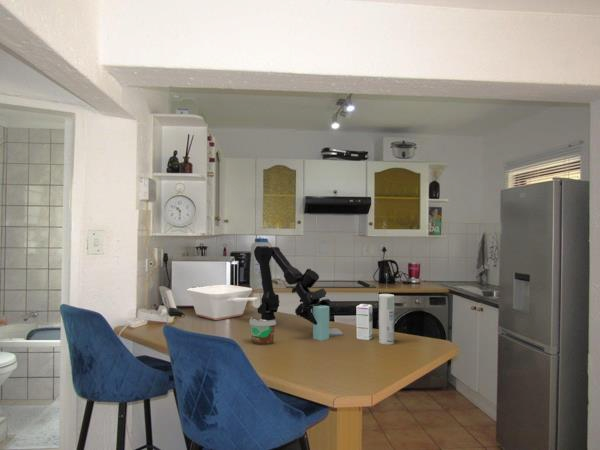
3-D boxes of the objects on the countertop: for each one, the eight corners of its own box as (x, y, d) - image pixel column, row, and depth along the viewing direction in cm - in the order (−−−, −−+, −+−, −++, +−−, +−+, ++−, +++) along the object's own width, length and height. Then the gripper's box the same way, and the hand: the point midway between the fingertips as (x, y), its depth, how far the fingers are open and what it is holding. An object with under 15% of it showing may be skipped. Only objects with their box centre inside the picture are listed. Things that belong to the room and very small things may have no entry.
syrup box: (369, 340, 178) (369, 306, 178) (356, 338, 180) (356, 305, 181) (372, 337, 183) (372, 304, 183) (359, 335, 186) (359, 303, 186)
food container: (243, 343, 172) (243, 319, 173) (251, 339, 178) (251, 316, 178) (268, 347, 167) (268, 322, 167) (276, 343, 172) (276, 319, 172)
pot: (225, 309, 246) (225, 284, 246) (276, 320, 216) (277, 292, 216) (182, 316, 225) (182, 288, 225) (232, 330, 195) (233, 298, 195)
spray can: (390, 345, 170) (390, 296, 171) (375, 342, 174) (376, 295, 175) (396, 342, 176) (396, 294, 176) (382, 339, 180) (382, 293, 180)
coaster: (321, 336, 185) (321, 334, 185) (316, 330, 195) (316, 329, 195) (343, 335, 186) (343, 333, 186) (337, 330, 196) (337, 328, 196)
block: (313, 338, 181) (313, 306, 181) (320, 336, 184) (320, 304, 184) (321, 340, 177) (321, 307, 177) (329, 338, 181) (329, 306, 181)
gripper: (300, 284, 177) (319, 314, 169) (328, 281, 190) (347, 308, 183) (287, 301, 182) (305, 330, 174) (315, 296, 196) (333, 323, 188)
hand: (323, 322), depth 180 cm, fingers open, 9 cm apart
